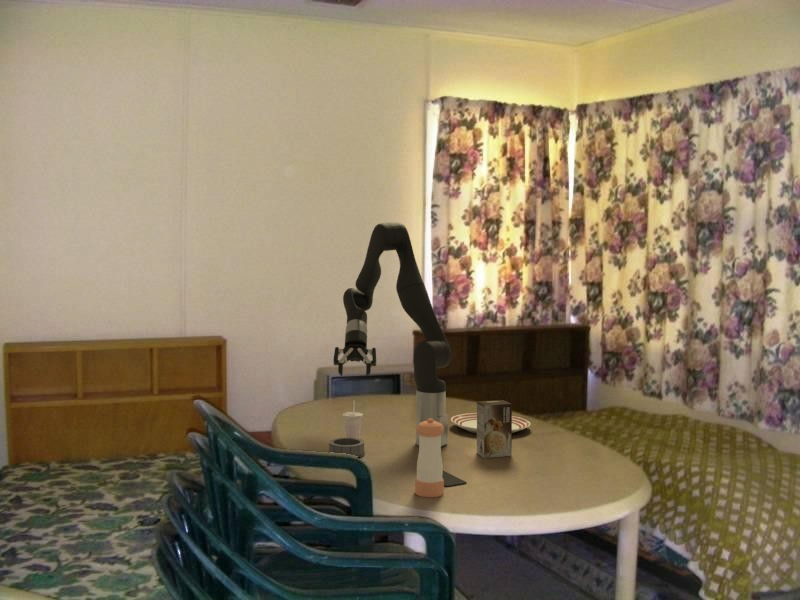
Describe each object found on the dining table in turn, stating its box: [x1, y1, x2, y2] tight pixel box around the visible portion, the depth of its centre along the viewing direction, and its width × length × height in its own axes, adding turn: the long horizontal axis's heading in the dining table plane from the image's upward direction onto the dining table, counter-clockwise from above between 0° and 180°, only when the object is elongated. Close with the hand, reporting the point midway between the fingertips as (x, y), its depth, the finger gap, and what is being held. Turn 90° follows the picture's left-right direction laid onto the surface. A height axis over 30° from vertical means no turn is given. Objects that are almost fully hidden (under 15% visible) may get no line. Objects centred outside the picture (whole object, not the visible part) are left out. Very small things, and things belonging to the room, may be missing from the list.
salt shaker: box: [414, 418, 445, 498], centre depth 198 cm, size 7×7×19 cm
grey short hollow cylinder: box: [328, 437, 366, 458], centre depth 235 cm, size 11×11×4 cm
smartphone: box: [442, 470, 467, 488], centre depth 212 cm, size 7×1×15 cm
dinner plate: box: [450, 412, 532, 434], centre depth 270 cm, size 28×27×3 cm
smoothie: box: [342, 400, 364, 439], centre depth 246 cm, size 6×6×14 cm
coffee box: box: [476, 399, 513, 459], centre depth 236 cm, size 9×6×16 cm
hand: (354, 374), depth 257 cm, fingers open, 8 cm apart
